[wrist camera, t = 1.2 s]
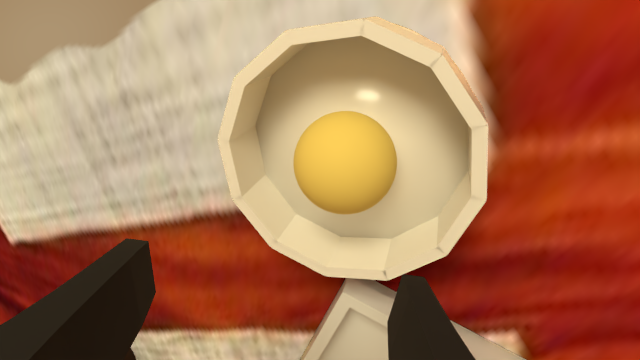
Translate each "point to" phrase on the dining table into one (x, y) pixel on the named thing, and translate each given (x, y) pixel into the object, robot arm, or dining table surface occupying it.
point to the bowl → (384, 107)
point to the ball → (345, 162)
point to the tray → (375, 327)
